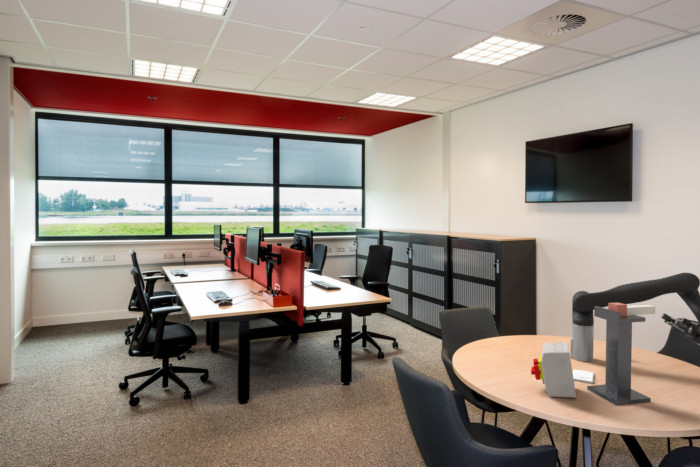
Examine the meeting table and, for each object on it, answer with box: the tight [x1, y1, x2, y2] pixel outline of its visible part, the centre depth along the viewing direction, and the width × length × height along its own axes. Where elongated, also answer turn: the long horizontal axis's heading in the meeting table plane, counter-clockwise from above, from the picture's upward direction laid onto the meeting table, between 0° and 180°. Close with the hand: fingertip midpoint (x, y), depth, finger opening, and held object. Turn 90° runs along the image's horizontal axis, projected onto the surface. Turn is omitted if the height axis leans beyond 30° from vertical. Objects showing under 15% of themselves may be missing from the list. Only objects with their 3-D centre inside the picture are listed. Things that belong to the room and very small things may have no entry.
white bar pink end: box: [607, 303, 656, 316], centre depth 169 cm, size 18×4×4 cm, turn 101°
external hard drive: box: [572, 369, 595, 385], centre depth 189 cm, size 2×8×12 cm
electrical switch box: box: [530, 341, 577, 398], centre depth 175 cm, size 15×15×20 cm
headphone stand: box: [586, 306, 652, 406], centre depth 169 cm, size 15×15×34 cm
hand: (672, 317), depth 173 cm, fingers open, 8 cm apart
